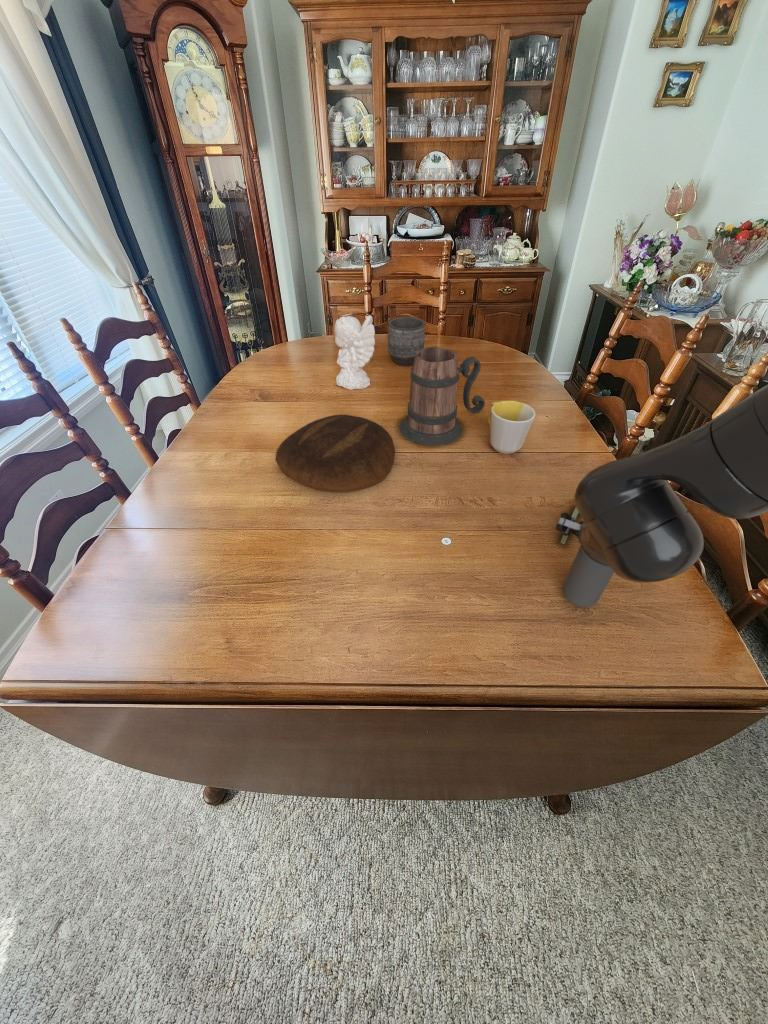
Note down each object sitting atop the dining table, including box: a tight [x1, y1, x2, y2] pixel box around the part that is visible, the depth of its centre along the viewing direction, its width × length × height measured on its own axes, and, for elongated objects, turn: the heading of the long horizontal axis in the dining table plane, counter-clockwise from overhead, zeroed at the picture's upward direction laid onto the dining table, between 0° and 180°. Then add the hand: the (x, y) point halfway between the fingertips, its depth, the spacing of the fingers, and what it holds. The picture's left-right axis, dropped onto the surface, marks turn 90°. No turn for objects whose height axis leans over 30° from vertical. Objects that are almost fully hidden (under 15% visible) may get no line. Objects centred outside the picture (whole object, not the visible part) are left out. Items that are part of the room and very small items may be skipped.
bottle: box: [562, 545, 615, 608], centre depth 67 cm, size 6×6×15 cm
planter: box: [387, 316, 426, 367], centre depth 143 cm, size 12×12×13 cm
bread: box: [275, 414, 396, 493], centre depth 101 cm, size 28×27×9 cm
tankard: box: [399, 346, 486, 446], centre depth 109 cm, size 24×17×20 cm
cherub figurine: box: [334, 314, 376, 391], centre depth 130 cm, size 13×12×20 cm
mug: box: [487, 400, 536, 455], centre depth 105 cm, size 14×10×10 cm
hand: (603, 543), depth 66 cm, fingers closed on bottle, 5 cm apart
